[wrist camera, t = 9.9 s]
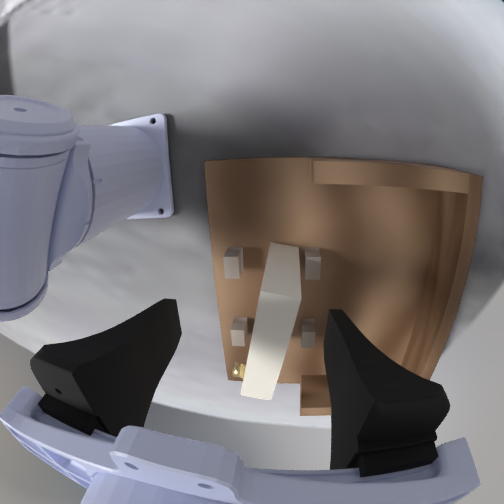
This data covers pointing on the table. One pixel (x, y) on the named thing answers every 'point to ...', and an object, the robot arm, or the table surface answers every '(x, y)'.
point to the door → (272, 322)
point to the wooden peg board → (343, 255)
